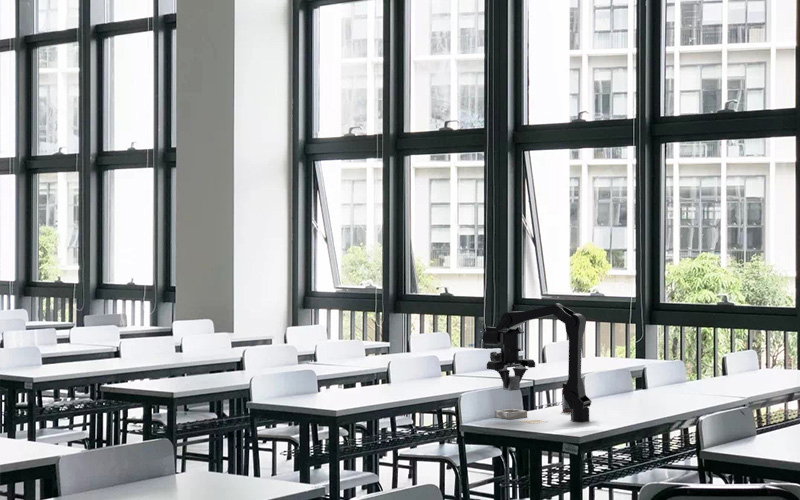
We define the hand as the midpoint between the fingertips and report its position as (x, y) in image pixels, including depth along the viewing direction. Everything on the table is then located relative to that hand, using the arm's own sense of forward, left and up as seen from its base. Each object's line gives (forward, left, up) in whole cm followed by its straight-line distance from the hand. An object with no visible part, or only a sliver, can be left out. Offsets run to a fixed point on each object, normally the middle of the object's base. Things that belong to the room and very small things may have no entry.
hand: (511, 387), depth 394 cm
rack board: (-1, 0, -12) cm, 12 cm away
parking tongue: (-14, +1, -12) cm, 19 cm away
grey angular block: (0, 0, -1) cm, 1 cm away
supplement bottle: (+7, -33, -13) cm, 36 cm away
